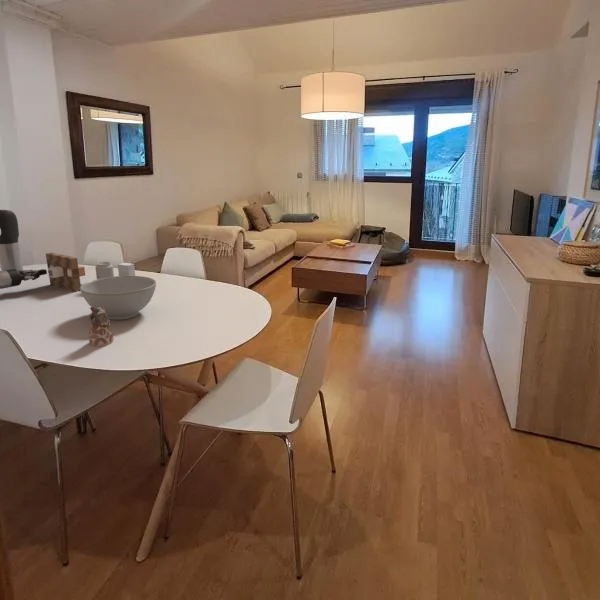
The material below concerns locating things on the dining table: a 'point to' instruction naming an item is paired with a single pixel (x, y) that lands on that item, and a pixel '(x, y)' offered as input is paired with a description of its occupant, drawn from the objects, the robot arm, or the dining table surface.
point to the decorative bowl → (119, 295)
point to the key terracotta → (81, 271)
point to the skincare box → (126, 269)
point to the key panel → (64, 271)
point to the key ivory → (55, 271)
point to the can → (104, 270)
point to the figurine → (99, 328)
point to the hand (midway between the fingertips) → (45, 271)
